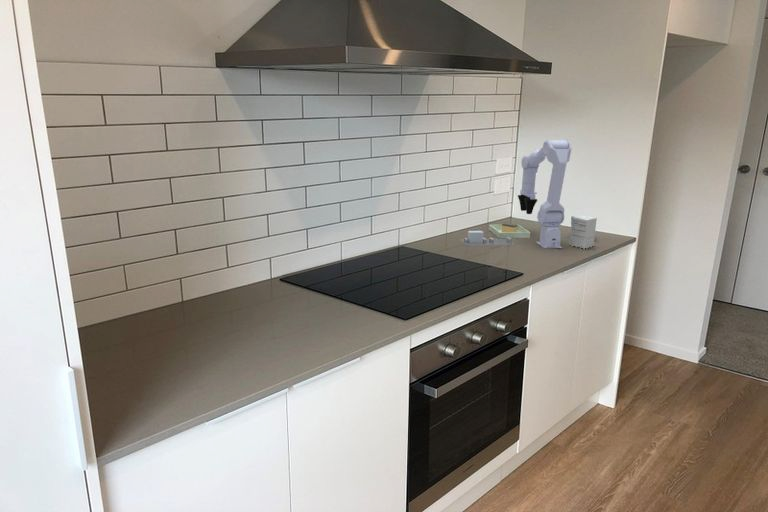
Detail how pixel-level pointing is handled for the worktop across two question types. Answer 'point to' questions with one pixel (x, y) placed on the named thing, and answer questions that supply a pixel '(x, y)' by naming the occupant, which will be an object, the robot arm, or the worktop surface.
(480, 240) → the fuse
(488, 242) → the fuse board
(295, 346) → the worktop surface
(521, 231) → the parts tray
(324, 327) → the worktop surface
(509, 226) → the block
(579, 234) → the supplement box
